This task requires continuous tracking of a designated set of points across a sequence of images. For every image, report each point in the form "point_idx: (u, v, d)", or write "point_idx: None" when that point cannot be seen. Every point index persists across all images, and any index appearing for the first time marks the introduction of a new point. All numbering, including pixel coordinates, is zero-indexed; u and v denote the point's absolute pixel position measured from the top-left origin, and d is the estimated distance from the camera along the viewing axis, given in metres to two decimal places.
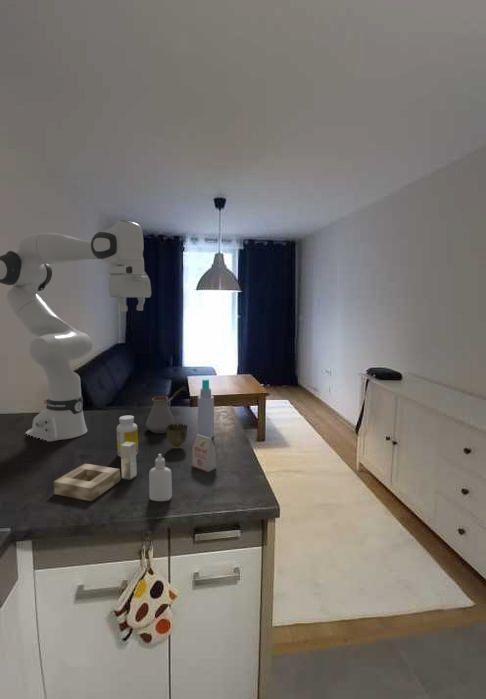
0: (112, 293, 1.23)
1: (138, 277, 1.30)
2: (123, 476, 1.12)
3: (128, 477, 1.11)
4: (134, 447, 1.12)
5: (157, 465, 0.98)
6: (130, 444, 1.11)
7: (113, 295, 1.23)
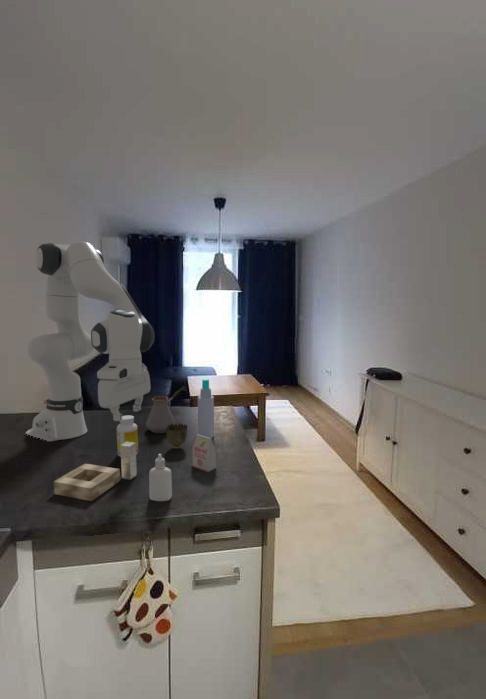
0: (102, 404, 1.00)
1: (134, 377, 1.08)
2: (123, 476, 1.12)
3: (128, 477, 1.11)
4: (134, 447, 1.12)
5: (157, 465, 0.98)
6: (130, 444, 1.11)
7: (104, 406, 1.00)
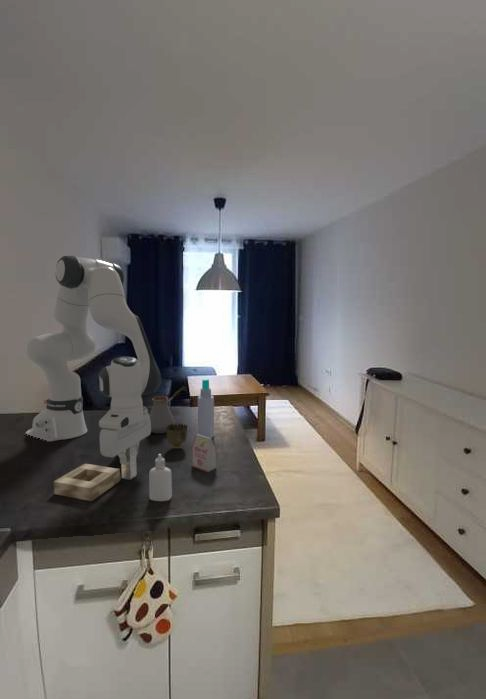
0: (104, 453, 1.02)
1: (136, 423, 1.09)
2: (123, 476, 1.12)
3: (128, 477, 1.11)
4: (134, 447, 1.12)
5: (157, 465, 0.98)
6: None
7: (105, 455, 1.02)
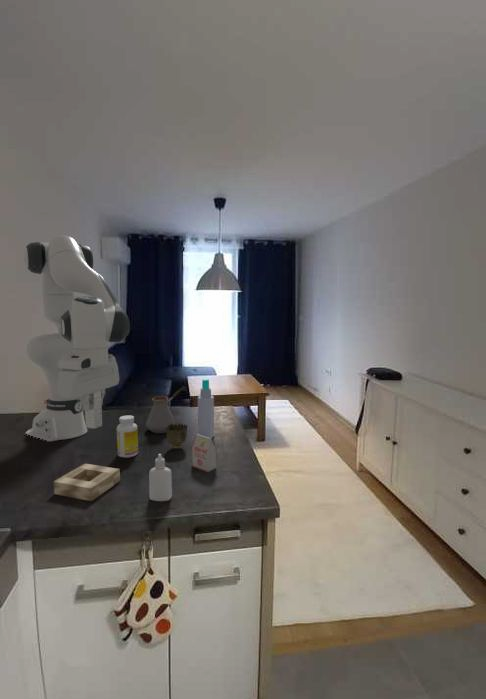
0: (63, 396, 0.95)
1: (100, 368, 1.02)
2: (87, 425, 1.04)
3: (92, 426, 1.04)
4: (99, 394, 1.05)
5: (157, 465, 0.98)
6: None
7: (64, 398, 0.95)
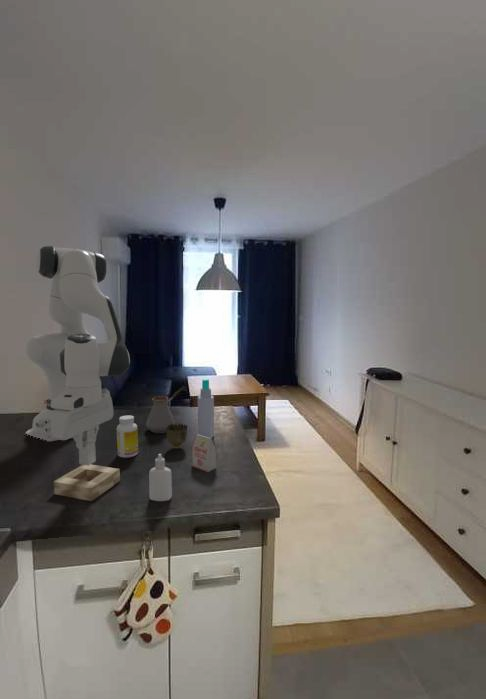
0: (56, 436, 0.95)
1: (93, 405, 1.02)
2: (81, 462, 1.04)
3: (86, 463, 1.04)
4: (92, 431, 1.05)
5: (157, 465, 0.98)
6: None
7: (57, 438, 0.95)
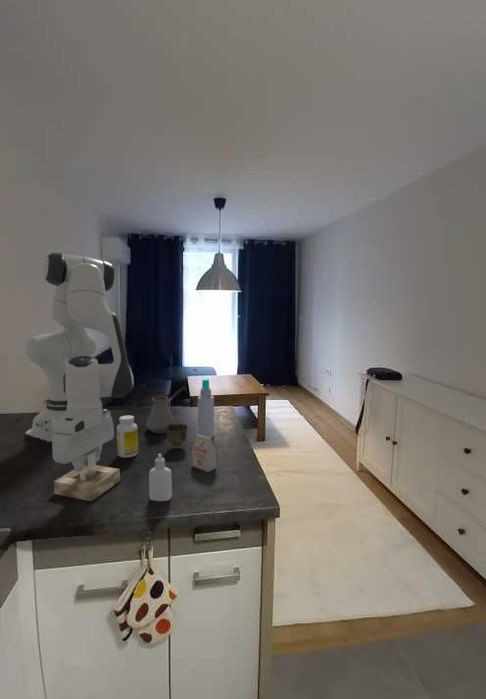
0: (57, 459, 0.96)
1: (94, 427, 1.03)
2: None
3: None
4: (93, 456, 1.06)
5: (157, 465, 0.98)
6: (89, 453, 1.05)
7: (58, 462, 0.96)
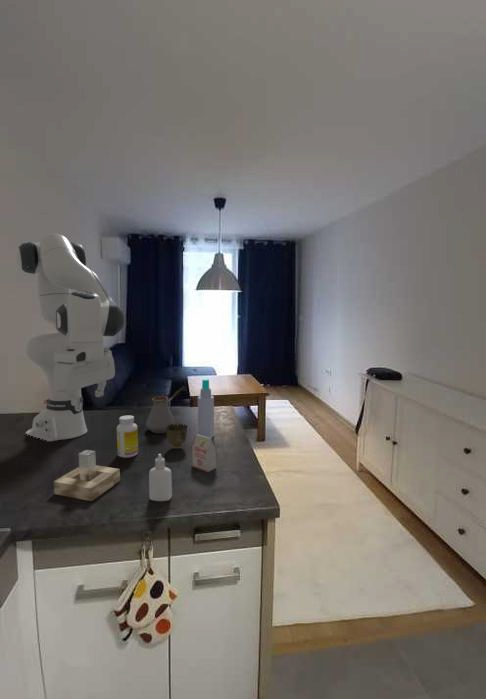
0: (58, 388, 0.97)
1: (95, 361, 1.04)
2: None
3: None
4: (93, 456, 1.06)
5: (157, 465, 0.98)
6: (89, 453, 1.05)
7: (59, 390, 0.97)
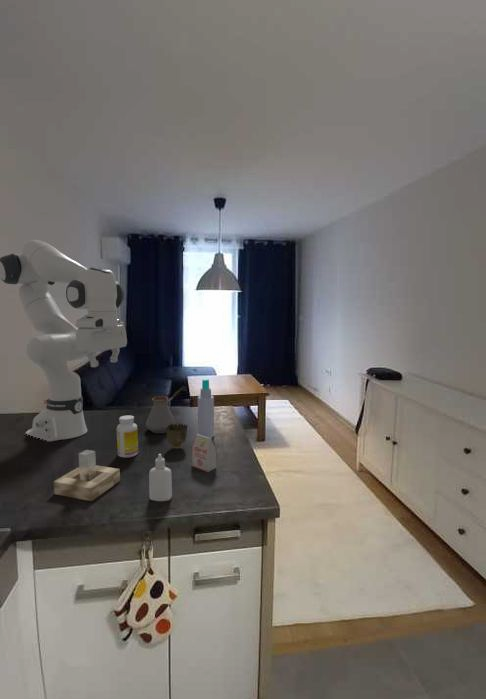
0: (80, 349, 1.11)
1: (110, 328, 1.19)
2: None
3: None
4: (93, 456, 1.06)
5: (157, 465, 0.98)
6: (89, 453, 1.05)
7: (81, 352, 1.12)
